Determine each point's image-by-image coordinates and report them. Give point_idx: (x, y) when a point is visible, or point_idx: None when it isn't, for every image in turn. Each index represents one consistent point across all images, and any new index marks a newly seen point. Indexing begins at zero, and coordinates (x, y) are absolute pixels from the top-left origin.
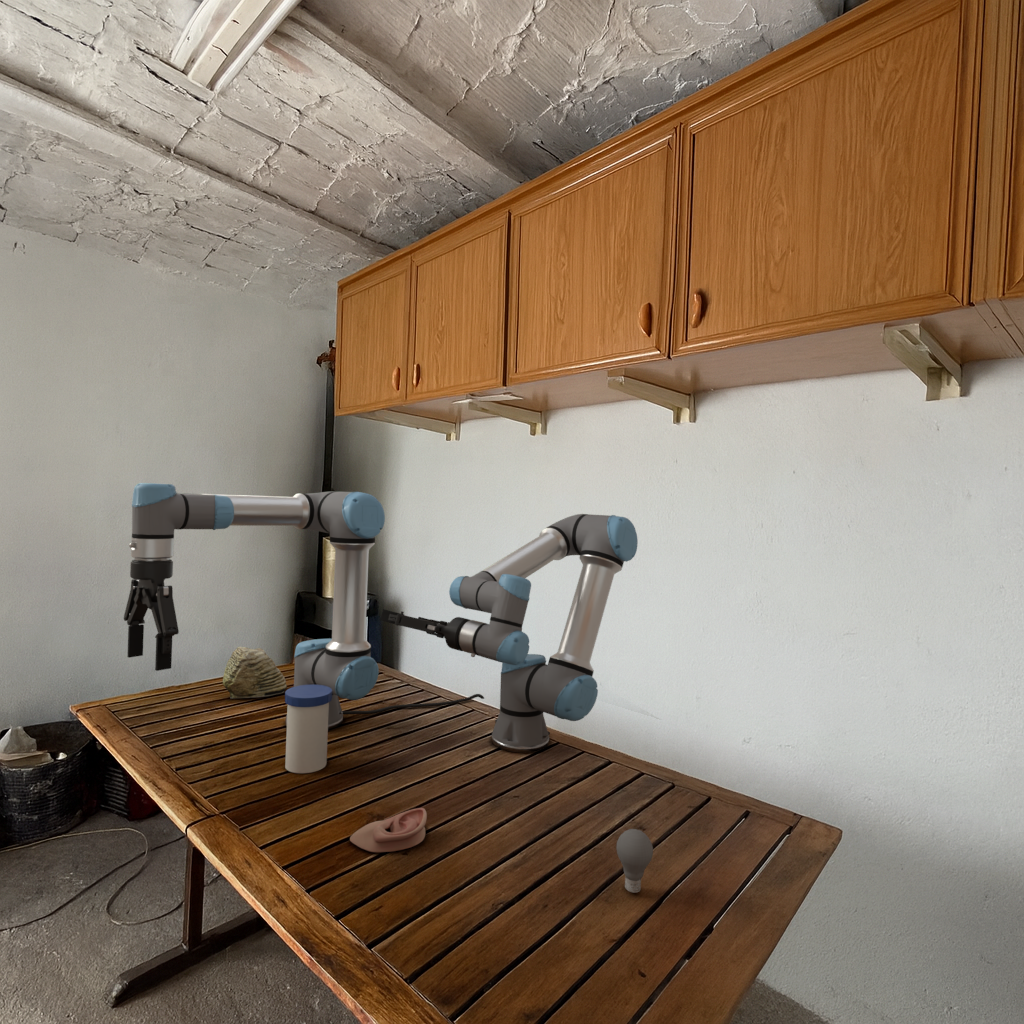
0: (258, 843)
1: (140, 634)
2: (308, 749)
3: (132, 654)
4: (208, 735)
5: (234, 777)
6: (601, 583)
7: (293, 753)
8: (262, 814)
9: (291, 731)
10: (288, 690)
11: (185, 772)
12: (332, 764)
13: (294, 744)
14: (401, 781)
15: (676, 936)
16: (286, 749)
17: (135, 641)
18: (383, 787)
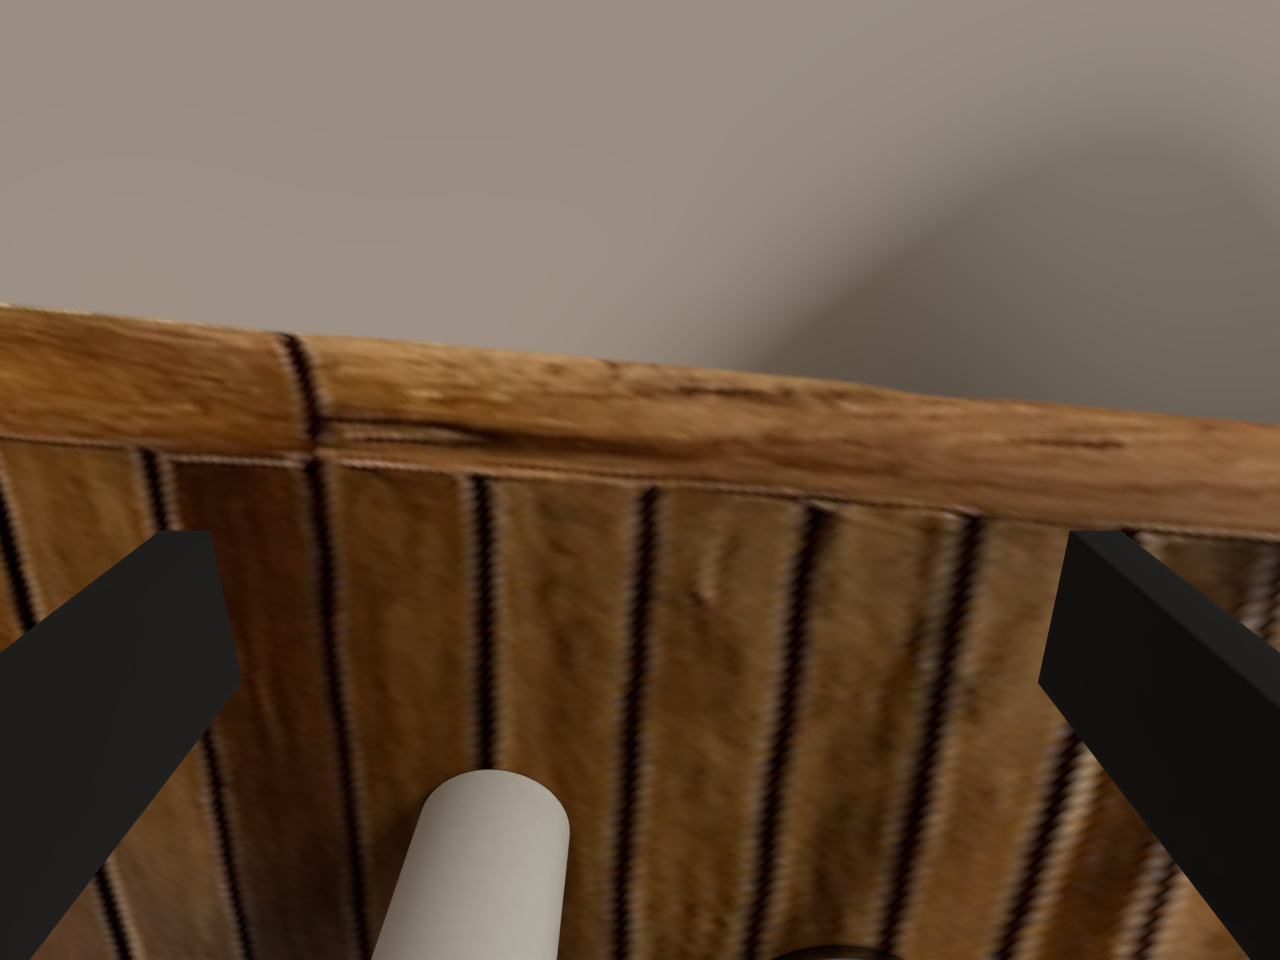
0: (10, 446)
1: (1246, 890)
2: (401, 873)
3: (1078, 588)
4: (1051, 735)
5: (576, 624)
6: None
7: (451, 828)
8: None
9: (446, 900)
10: None
11: (762, 522)
12: None
13: (439, 859)
14: (165, 943)
15: None
16: (503, 829)
17: (1188, 736)
18: (159, 890)
